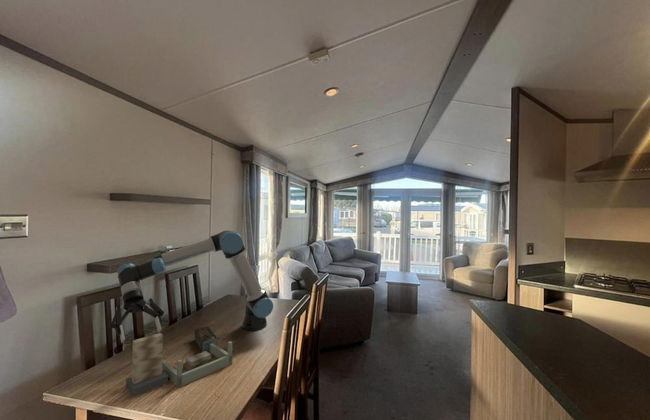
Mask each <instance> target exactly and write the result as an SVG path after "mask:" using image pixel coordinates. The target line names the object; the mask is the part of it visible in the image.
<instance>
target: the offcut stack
mask: <svg viewBox="0 0 650 420" xmlns="http://www.w3.org/2000/svg"><path fill="white" fill-rule="evenodd" d="M210 362H212V353H210V352H209V351H204V352H202V351H201V352H199V353H197V354H194V355H191V356H188V357H186V358H185V362H184V363H182V373H185V372H187V371H190V370H192V369H195V368H197V367H200V366H202V365H205V364H207V363H210Z"/></svg>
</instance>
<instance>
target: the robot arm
mask: <svg viewBox="0 0 650 420" xmlns="http://www.w3.org/2000/svg"><path fill="white" fill-rule="evenodd" d="M246 250H247V249H246V247H245V245H244V240H243V237H242V235H241V234H240V233H238V232H237V231H234V230H223V231H221V232H219V233H215V234H214V235H211V236H209V237H208V238H207V239H204V240H201V241H198V242H194V243H191V244H189V245H186V246H183V247H181V248H180V247H179V248H177V249H173V250H171V251H168V252H164V253H162V254H159V255H156V256H150V257H148V258H147V259H145V261H144V263H141V264H138V265H136V264H133V263H131V262H130V263H125V264H122V265H119V267H118V268H117V279H118V282H119V286H120V291H121V295H122V301H123V304H117V305H116V306H115V307H116V308H115V313H114V316H113V318H112V320H111V323H110V324H109V327H108V328H109V329H114V330H115V332H116V335H117V336H119V337H120V342H121V344H123V343H124V342H125V340H126V337H125V332H124V328H123V322H124V321H125V320H126V318H127V317H128V316H129V314H135V313H140V312H143V313H146V314H148V315H149V316H151V317H153V318H154V323H155V327H156V331H157V334H158V333H161V331H162V326H161V324H162V323H163V321H162V317H163V316H164V314H165V311H164V310H162V308H160V307H159V305H157V303H155V302H154V300H153V298H152V297H151V298H149V299H147V300H145V298H144V294H143V291H142V287H141V283H140V281H142V280H145V279H148V278H151V277H153V276H157V275H160V274H162V273H164V272H166V270H167V269H166V268H167V267H170V266H173V265H176V264H179V263H182V262H185V261H188V260H190V259H194V258H197V257H200V256H203V255H205V254H209V253H212V252H214V253H216V252H219V251H222V253H223V255H224V257H225V259H227V260H230V263H231V265H232V267H233V269H234V270H235V273H236V274H237V278H238V279H239V280H240V283H241V285H242V287H243V289H244V291H245V295H244V299H245V301H244V303H245V305H244V307H245V309H244V317H243V319H242V323H241V328H242V329H243V330H246V331H258V330H262V329H265V328H266V327H267V325H268V321H267V317H268V316H270V315H271V313H272V312H273V310H274V303H273V300H272V299H271V298H270V297H269V295H268V293H267V291H266V289H265V288H262V286H261V285H260V283H259V281H258V278H257V277H256V274H255V272H254V269H253V268H252V265H251V264H250V261H249V260H248V257H247V255H246V253H245V252H246ZM148 306H149V307H148ZM122 310H125V312H124V313H123V314H122V316H121V317H120V319H119V320H118V321H117V318H119V317H118V316H119V314H120V312H121V311H122ZM116 321H117V322H116Z"/></svg>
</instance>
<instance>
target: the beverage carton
mask: <svg viewBox="0 0 650 420" xmlns="http://www.w3.org/2000/svg"><path fill="white" fill-rule="evenodd" d="M194 341H195V342H196V344H197V346H198V348H199V349H200V351H201V353H202V352H204V351H207V352H210V344H212V343H213V344H215V345H216V346H218V342H219V341H218V337H217V336H216V334H215V333H214V331H213V330H212V328H211V327H210V326H207V325H206V326H204V327H200V328H199V327H198V328H195V329H194Z"/></svg>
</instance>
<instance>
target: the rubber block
mask: <svg viewBox="0 0 650 420" xmlns="http://www.w3.org/2000/svg"><path fill="white" fill-rule="evenodd" d="M168 381H169V378H168V375H167V374H165V373H164V372H163V371H162V374H160V375H157V376H154V377H152V378H149V379H146V380H144V381H141V382H139V383H136V384H134V383H133V382H132V376H130V377H128V378H126V379H125V387H126V389H127V390H128V391H129V393H130V394H131V396H132V397H133V398H135V397H137V396H139V395H143V394H145V393H147V392H151V391H152V390H155V389H157V388H159V387H162V386H164V385H167V384H168V383H169V382H168Z"/></svg>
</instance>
